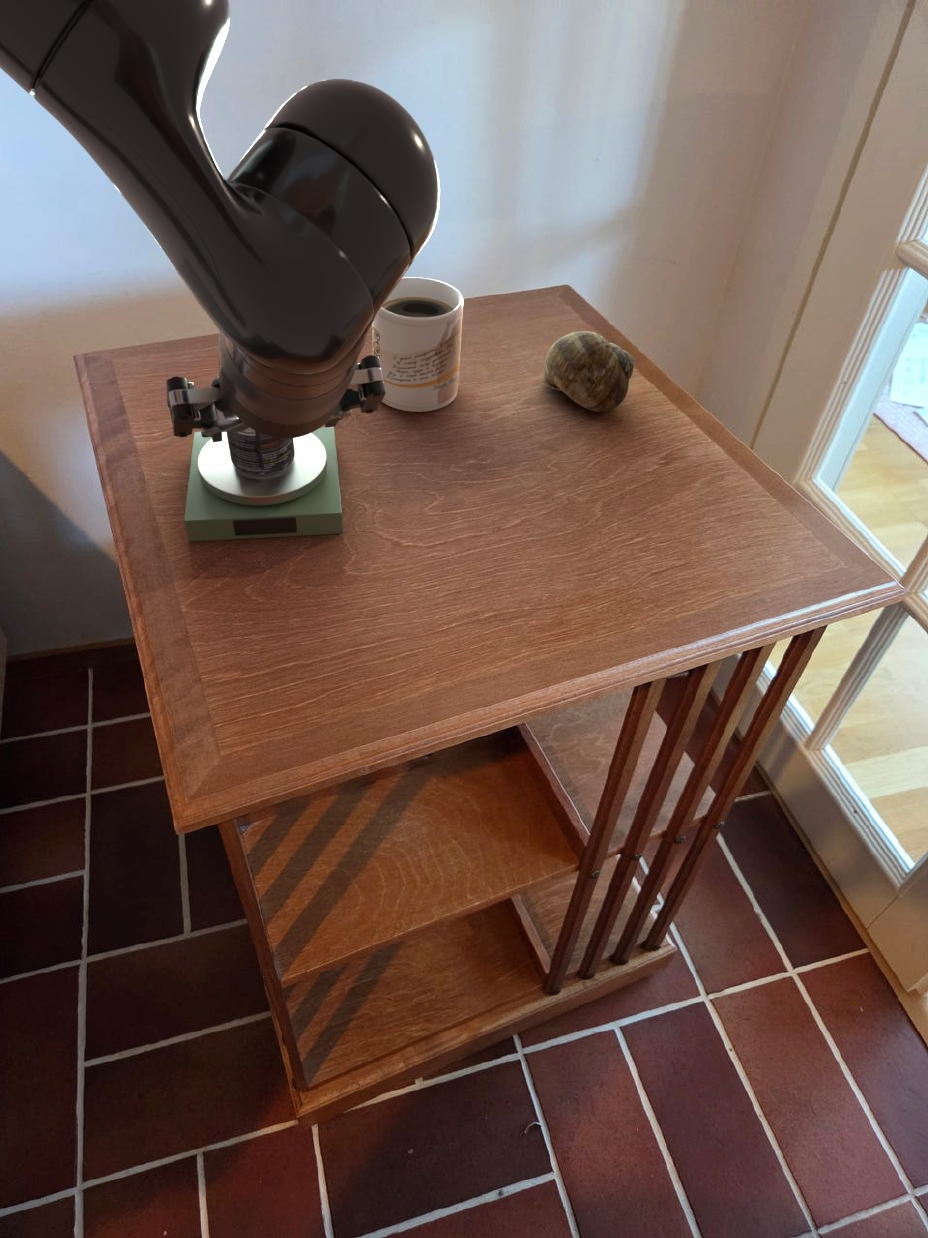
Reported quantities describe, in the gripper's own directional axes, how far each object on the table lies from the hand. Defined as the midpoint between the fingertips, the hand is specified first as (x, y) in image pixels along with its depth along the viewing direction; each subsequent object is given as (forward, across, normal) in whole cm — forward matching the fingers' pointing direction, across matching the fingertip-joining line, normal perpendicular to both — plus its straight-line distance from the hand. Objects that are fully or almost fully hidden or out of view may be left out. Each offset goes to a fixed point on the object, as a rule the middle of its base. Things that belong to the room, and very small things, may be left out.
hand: (271, 421), depth 63 cm
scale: (+19, 0, +3) cm, 19 cm away
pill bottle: (+16, 0, 0) cm, 16 cm away
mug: (+30, -20, -8) cm, 37 cm away
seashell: (+25, -38, -3) cm, 46 cm away
